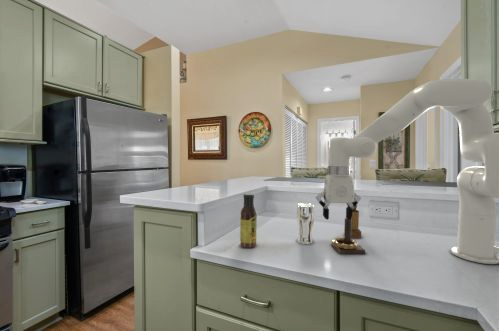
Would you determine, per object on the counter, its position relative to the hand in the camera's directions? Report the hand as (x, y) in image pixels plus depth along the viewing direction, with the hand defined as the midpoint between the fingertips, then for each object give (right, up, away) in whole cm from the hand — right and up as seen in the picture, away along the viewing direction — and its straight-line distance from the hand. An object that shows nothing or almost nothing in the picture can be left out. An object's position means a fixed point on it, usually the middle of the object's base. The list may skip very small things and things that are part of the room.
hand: (337, 218), depth 91 cm
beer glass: (-10, -11, +8) cm, 17 cm away
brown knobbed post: (+13, -11, +16) cm, 23 cm away
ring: (+3, -9, 0) cm, 10 cm away
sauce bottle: (-33, -11, +4) cm, 35 cm away
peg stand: (+4, -12, +1) cm, 12 cm away
